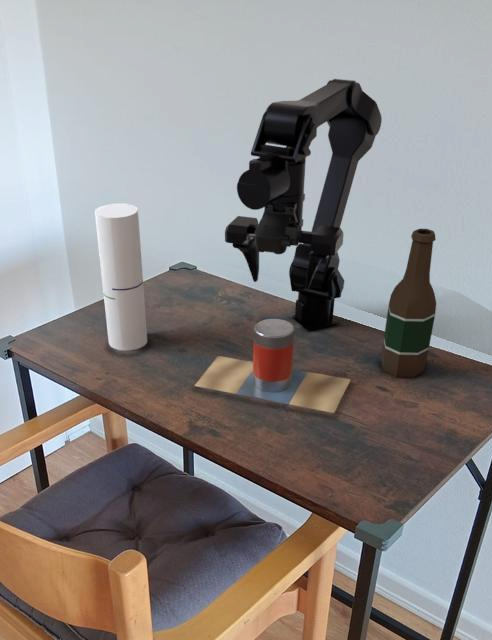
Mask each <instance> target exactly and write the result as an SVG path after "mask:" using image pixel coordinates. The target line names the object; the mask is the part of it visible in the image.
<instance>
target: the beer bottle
mask: <svg viewBox="0 0 492 640" xmlns="http://www.w3.org/2000/svg"><path fill="white" fill-rule="evenodd" d="M410 237H411V240H412V241H411V246H410V250H409V254H408V260H407V264H406V269H405V271H404V275H403V277H402V279H400V281H399V282H398V283H397V284H396V285H395V287H394V288H393V291H391V294H390V298H389V301H388V305H387V307H388V308H387V314H386V321H385V328H384V335H383V342H382V350H381V358H380V361H381V366H382V370H383V372H384V373H386V374H388V375H391V376H393V377H395V378H411V379H412V378H415V377H416V376H419V375H421V374H422V373H424V371H425V369H426V364H427V361H428V355H429V349H430V345H431V339H432V334H433V329H434V323H435V319H436V310H437V300H436V295H435V294H436V293H435V291H434V288H433V285H432V284H431V267H432V266H431V265H432V264H431V263H432V255H433V247H434V242H435V241H436V238H437V237H436V233H435V231H434V230H433V229H429V228H418V229H415V230H413V232H412V233H411V236H410Z"/></svg>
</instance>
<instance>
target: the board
mask: <svg viewBox="0 0 492 640" xmlns="http://www.w3.org/2000/svg"><path fill="white" fill-rule="evenodd" d="M351 380H352V379H350V378H345V377H339V376H334V375H328V374H327V375H326V374H323V373H318V372H317V373H316V372H311V371H306V370H301V369H300V370H299V369H296V368H295V369H294V368H292V375H291V385H290V386H289V387H288V388H287V389H285V390H283V391H279V392H266V391H262V390H259V389H257V388H256V387H255V386H254V384H253V361H251V360H250V361H249V360H244V359H239V358H233V357H228V356H221V355H218V356H217V357H216V358H215V359H214V360H213V362H212V363H211V364H210V365H209V367H207V369H206V370H205V372H204V373H202V375H201V376H200V378H199V379H198V381H197V382H196V383H195V384H194V387H198V388H202V389H208V390H214V391H219V392H224V393H228V394H234V395H238V396H239V395H240V396H244V397H250V398H254V399H260V400H266V401H271V402H275V403H280V404H285V405H291V406H295V407H301V408H306V409H311V410H317V411H321V412H326V413H332V414H335V413H336V411H337V409H338V407H339V405H340V402H341V400H342V399H343V396H344V395H345V392H346V391H347V389H348V387H349V384H350V383H351Z"/></svg>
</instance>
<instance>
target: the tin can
mask: <svg viewBox="0 0 492 640" xmlns="http://www.w3.org/2000/svg"><path fill="white" fill-rule="evenodd" d="M252 341H253V343H252V344H253V346H252V347H253V348H252V362H253V384H254V386H255V387H256V388H257V389H259V390H262V391H266V392H279V391H283V390H285V389H287V388H288V387H289V386H290V385H291V375H292V369H293V361H294V360H293V359H294V344H295V343H294V342H295V327H294V325H293V324H292V323H291V322H289V321H287V320H284V319H281V318H267V319H263V320H260V321H258V322H256V324H255V325H254V326H253V339H252Z"/></svg>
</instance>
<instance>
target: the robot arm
mask: <svg viewBox="0 0 492 640" xmlns="http://www.w3.org/2000/svg"><path fill="white" fill-rule="evenodd" d="M325 123H326V124H327V125H328V127H329V128H328V133H327V138H328V142H329V145H330V149H331V158H330V161H329V165H328V169H327V172H326V176H325V178H324V179H325V180H324V184H323V186H322V191H321V194H320V198H319V201H318V205H317V208H316V209H317V210H316V213H315V217H314V220H313V225H312V227H311V231H308V230H302V228H303V226H304V219H303V213H304V202H305V199H306V193H305V179H306V177H305V176H306V161H307V157H309V156H310V155H312V151H311V150H310V146H311V144H312V142H313V141H314V140H315V139H316V138H317V133H318V130H317V129H318V128H319V127H320V126H322V125H323V124H325ZM381 127H382V113H381V111H380V108H379V106H378V104H377V102H376V100H374V99H373V98H372V97H371V96H369V95H368V94H367V93H366V92H365V91H363V88H362V86H361V84H360V83H359V82H357V81H356V80H353V79H341V78H333V79H331V80H328V82H327V83H326V84H325V85H324V86H321V87H320V88H318V89H315V90H314V91H313V92H311V93H309V94H307V95H305V96H304V97H302V98H300V99H298V100H280V101H274V102H272V103H270V104H269V105H268V106H267V108H266V109H265V111H264V113H263V114H262V117H261V120H260V123H259V127H258V129H257V132H256V135H255V138H254V141H253V145H252V147H251V149H250V150H251V151H250V155H251V156H252V157H258V158H253V159H251V160H249V161H248V169H247V170H245V171H244V172H242V173H241V175H240V176H239V178H238V181H237V184H236V193H237V196H238V198H239V200H240V202H241V203H242V204H243V206H245V207H246V208H248V209H250V210H253V211H258V210H262V209H264V210H263V214H262V216H261V219H260V220H258V218H257V217H252V216H243V215H237V216H236V217H235V218H234V219H233V220H232V221H231V222H230V223H229V224H228V225H226V227H225V230H224V242H225V243H227V244H231V245H232V247H233V248H234V249H237V250H239V251H240V252H241V253H242V254H243V256H244V258H245V261H246V263H247V266H248V269H249V272H250V275H251V278H252V280H253V282H254V283H256V282H258V280H259V274H260V253H273V254H275V255H282V254H284V253H286V251H287V248H290V247H291V246H295V251H294V256H293V259H292V262H291V263H290V265H289V271H288V272H289V273H288V275H289V282H290V283H289V284H290V288H291V292H297V295H298V296H297V299H296V300H295V309H294V311H295V312H294V314H293V315H292V319H293V320H294V321H295V322H296V323H298V324H299V325H300V326H301V327H302V328H304V329H305V330H306V331H308V332H311V331H316V330H319V329H320V330H321V329H324V328H328V327H334V326H336V325H338V321H337V320H336V319H334V309H335V300H336V299H340V298H341V297H342V293H343V290H344V287H345V279H344V277H343V275H342V274H341V272H340V270H339V266H340V262H341V259H340V256H339V250H340V248H341V247H342V246H343V244H344V231H343V230H342V228H341V225H342V221H343V218H344V215H345V212H346V207H347V204H348V200H349V197H350V194H351V189H352V185H353V182H354V178H355V175H356V171H357V168H358V164H359V161H361V159H362V158H364V156H365V155H366V154H367V153H368V152H369V151H370V150H371V149H372V148H373V145H374V143H375V142H374V141H375V140H376V137H377V135H378V134H379V132H380V131H381Z"/></svg>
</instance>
